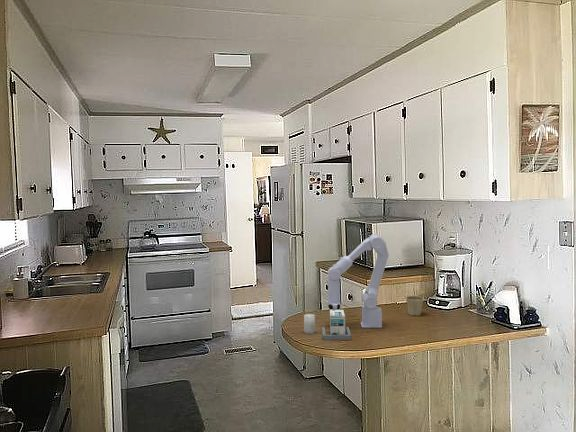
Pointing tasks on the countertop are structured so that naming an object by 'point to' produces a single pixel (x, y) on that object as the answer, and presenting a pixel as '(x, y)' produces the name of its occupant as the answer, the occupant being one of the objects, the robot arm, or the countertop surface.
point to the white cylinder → (309, 323)
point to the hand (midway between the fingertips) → (334, 319)
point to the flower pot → (414, 305)
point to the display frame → (336, 337)
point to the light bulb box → (337, 322)
